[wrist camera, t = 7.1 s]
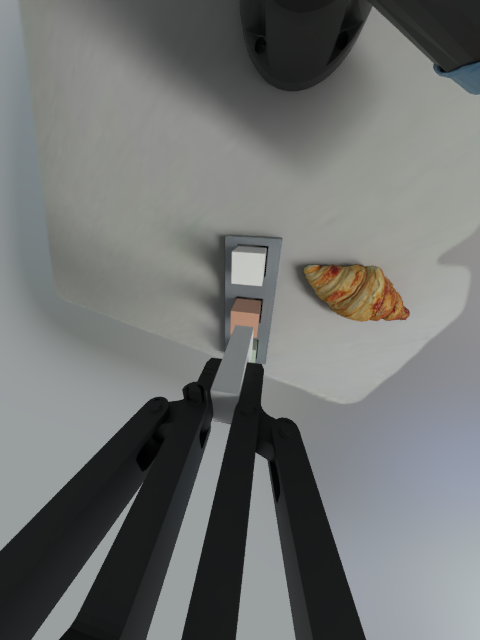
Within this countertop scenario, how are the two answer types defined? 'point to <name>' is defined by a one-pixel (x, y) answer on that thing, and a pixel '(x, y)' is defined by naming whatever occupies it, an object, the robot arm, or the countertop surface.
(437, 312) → the countertop surface
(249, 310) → the key terracotta
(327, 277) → the croissant
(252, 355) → the key sage
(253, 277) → the key white
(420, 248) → the countertop surface
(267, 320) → the grey slotted tray
